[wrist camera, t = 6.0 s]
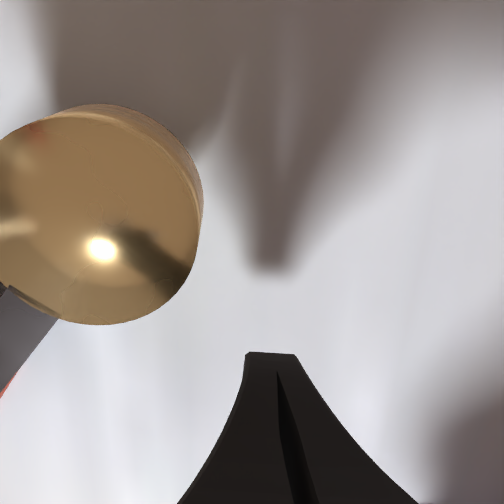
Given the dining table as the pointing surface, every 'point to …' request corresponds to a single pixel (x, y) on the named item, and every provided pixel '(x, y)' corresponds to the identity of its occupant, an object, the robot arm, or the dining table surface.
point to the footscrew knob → (91, 223)
